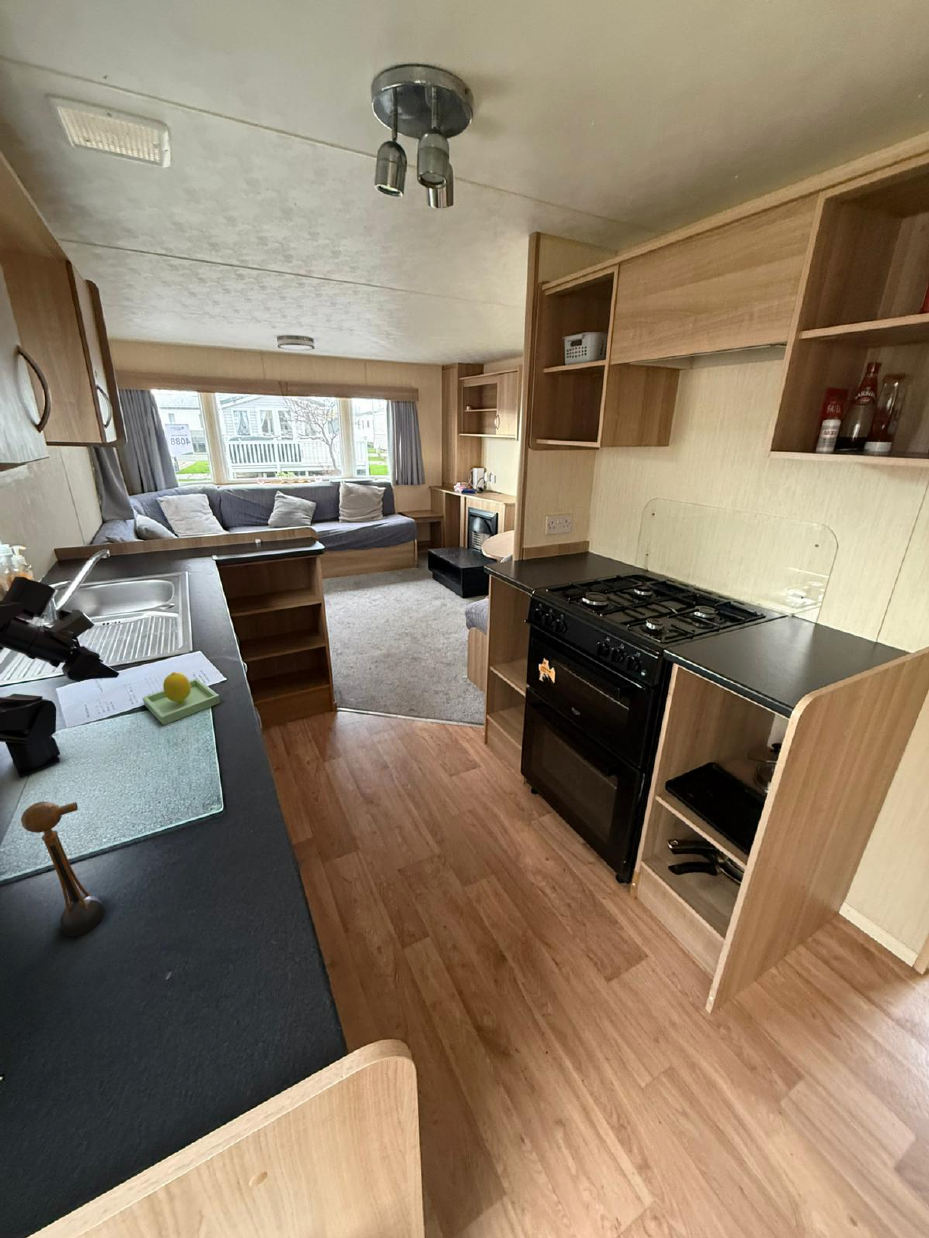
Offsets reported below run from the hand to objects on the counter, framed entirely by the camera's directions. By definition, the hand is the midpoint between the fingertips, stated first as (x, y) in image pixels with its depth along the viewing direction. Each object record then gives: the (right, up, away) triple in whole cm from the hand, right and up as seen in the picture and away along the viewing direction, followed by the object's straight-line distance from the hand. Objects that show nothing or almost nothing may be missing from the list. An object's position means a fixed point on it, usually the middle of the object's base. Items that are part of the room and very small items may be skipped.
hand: (109, 668), depth 108 cm
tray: (+9, -10, +12) cm, 18 cm away
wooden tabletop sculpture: (+25, -31, -39) cm, 55 cm away
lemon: (+9, -9, +12) cm, 17 cm away
